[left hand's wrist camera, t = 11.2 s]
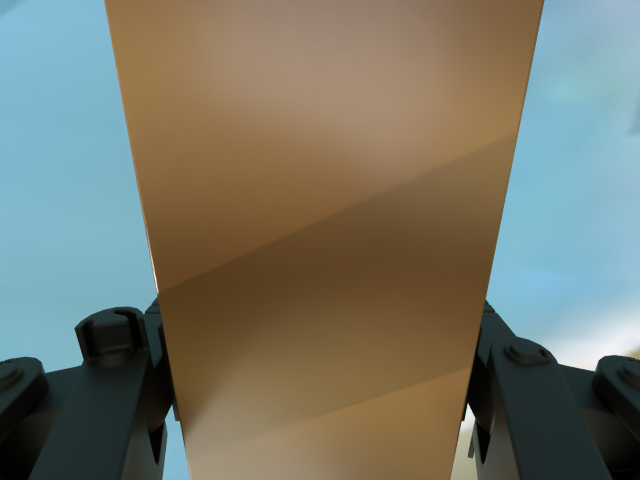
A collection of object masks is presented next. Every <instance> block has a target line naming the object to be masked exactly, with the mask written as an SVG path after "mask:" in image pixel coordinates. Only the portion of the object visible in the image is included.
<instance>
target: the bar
mask: <svg viewBox="0 0 640 480" xmlns="http://www.w3.org/2000/svg"><path fill="white" fill-rule="evenodd" d="M104 1H105V7H106V12H107V18H108V23H109V29H110V34H111V40H112V46H113V51H114V57H115V62H116V68H117V73H118V79H119V85H120V90H121V96H122V101H123V107H124V112H125V118H126V123H127V129H128V135H129V140H130V146H131V151H132V157H133V162H134V168H135V174H136V179H137V185H138V190H139V196H140V201H141V207H142V212H143V218H144V224H145V229H146V235H147V240H148V246H149V251H150V257H151V263H152V268H153V274H154V279H155V285H156V290H157V296H158V301H159V307H160V313H161V318H162V324H163V329H164V335H165V340H166V346H167V352H168V357H169V363H170V368H171V374H172V379H173V385H174V390H175V396H176V402H177V407H178V413H179V418H180V424H181V429H182V435H183V441H184V446H185V452H186V457H187V463H188V468H189V474H190V480H450V477H451V472H452V467H453V462H454V457H455V452H456V447H457V442H458V437H459V432H460V427H461V422H462V416H463V411H464V406H465V401H466V396H467V391H468V386H469V381H470V376H471V371H472V366H473V361H474V355H475V350H476V345H477V340H478V335H479V330H480V325H481V320H482V315H483V310H484V305H485V300H486V294H487V289H488V284H489V279H490V274H491V269H492V264H493V259H494V254H495V249H496V244H497V238H498V233H499V228H500V223H501V218H502V213H503V208H504V203H505V198H506V193H507V188H508V183H509V177H510V172H511V167H512V162H513V157H514V152H515V147H516V142H517V137H518V132H519V127H520V122H521V116H522V111H523V106H524V101H525V96H526V91H527V86H528V81H529V76H530V71H531V66H532V61H533V55H534V50H535V45H536V40H537V35H538V30H539V25H540V20H541V15H542V10H543V5H544V0H104Z"/></svg>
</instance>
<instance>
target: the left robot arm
mask: <svg viewBox="0 0 640 480" xmlns="http://www.w3.org/2000/svg"><path fill="white" fill-rule="evenodd" d="M75 332H76V335H77V338H78V342H79V345H80V349H81V352H82V355H83V359H84V361H83V363H82V365H81V366H77V367H73V368H68V369H63V370H58V371H54V372H49V373H45V371H44V368H43V365H42V362H41V361H39V360H38V359H37V358H32V357H21V358H13V359H8V360H5V361H1V362H0V480H162V477H163V469H164V460H165V451H166V443H167V428H166V423H165V418H166V416H167V413H168V411H169V409H170V407H171V405H172V406H173V411H174V416H175V421H180V418H179V413H178V407H177V402H176V396H175V390H174V385H173V379H172V374H171V368H170V363H169V357H168V352H167V346H166V340H165V335H164V329H163V324H162V318H161V313H160V307H159V301H158V297H157V298H156V299H155V300H154V302H153V303H152V304H151V306H149V308H148V309H147V310H146V311H145V314H143V313H142V312H141V311H140V310H139V309H137V308H132V307H115V308H110V309H106V310H102V311H100V312H97V313H95V314H92V315H90V316H89V317H87V318H85V319H84V320H82V321H81V322H80V323H79V324H78V325H77V326H76V327H75ZM467 404H469V406H470V408H471V410H472V412H473V414H474V416H475V423H474V428H473V432H472V437H471V442H470V447H469V452H468V457H469V458H473V455H474V451H475V459H476V468H477V476H478V480H640V360H638V359H637V360H636V359H635V358H631V357H625V356H617V355H612V356H604V357H603V358H601V359H600V360H599V361H598V364H597V367H596V370H595V372H594V371H590V370H585V369H580V368H575V367H570V366H565V365H561V364H558V362H557V360H556V359H555V357H554V356H553V355H552V354H551V352H550V351H548V350H547V349H545V348H544V347H543V346H541V345H539V344H537V343H535V342H533V341H531V340H528V339H524V338H520V337H516V335H515V334H514V333H513V332H512V331H511V329H510V328H509V327H508V326H507V324H506V323H505V322H504V321H503V320H502V318H501V317H500V316H499V315H498V314H497V313H495V310H494V309H493V308H492V306H491V305H489V303H488V302H487V300H485V305H484V310H483V315H482V320H481V325H480V330H479V335H478V340H477V345H476V350H475V355H474V361H473V366H472V371H471V376H470V381H469V386H468V391H467V396H466V401H465V406H464V411H463V416H462V421H464V420H465V415H466V409H467Z"/></svg>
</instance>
